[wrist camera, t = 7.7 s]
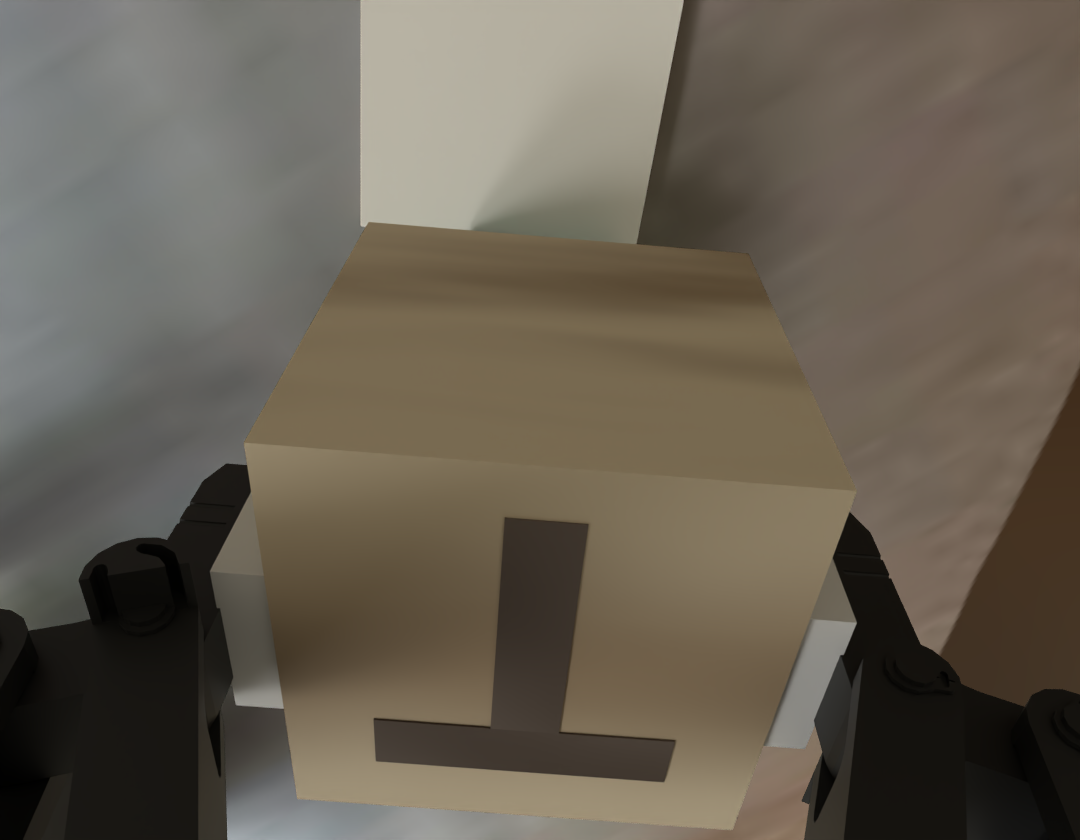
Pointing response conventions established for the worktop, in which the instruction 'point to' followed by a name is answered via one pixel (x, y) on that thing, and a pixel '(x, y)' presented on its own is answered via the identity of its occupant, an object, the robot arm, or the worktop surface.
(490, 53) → the tile
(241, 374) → the worktop surface
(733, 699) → the letter cube
